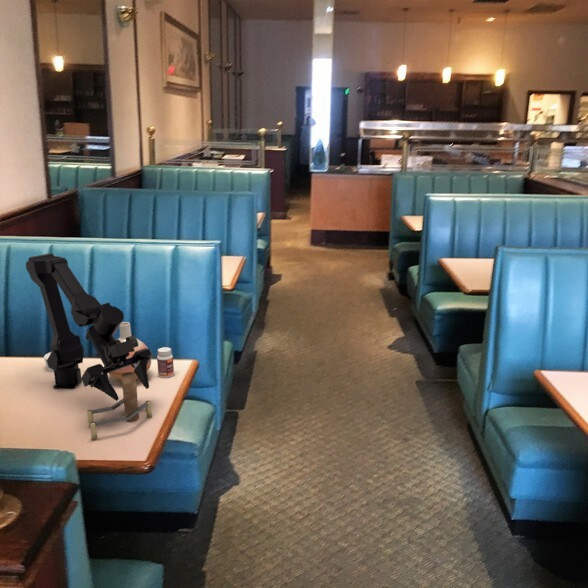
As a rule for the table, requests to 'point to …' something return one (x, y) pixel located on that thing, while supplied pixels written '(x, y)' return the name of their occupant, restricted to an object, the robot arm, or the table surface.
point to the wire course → (93, 424)
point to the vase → (124, 333)
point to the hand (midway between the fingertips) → (133, 394)
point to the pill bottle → (165, 362)
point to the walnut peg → (130, 394)
